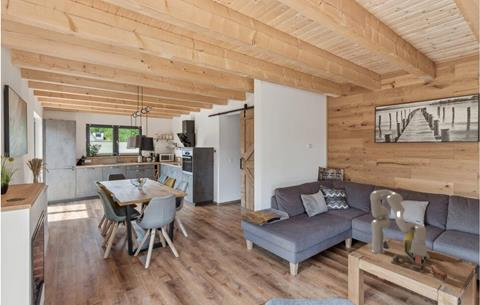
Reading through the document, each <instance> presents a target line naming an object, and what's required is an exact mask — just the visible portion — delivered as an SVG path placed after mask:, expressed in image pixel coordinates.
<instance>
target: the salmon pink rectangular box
mask: <svg viewBox="0 0 480 305" xmlns="http://www.w3.org/2000/svg"><path fill="white" fill-rule="evenodd" d="M421 259H422V256H420V255H416V254H415V262H414V264H413V268H415V269H418V270H421V269H422V267H423V265H424V263H423V264H421Z"/></svg>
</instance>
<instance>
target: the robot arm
mask: <svg viewBox="0 0 480 305" xmlns="http://www.w3.org/2000/svg"><path fill="white" fill-rule="evenodd" d="M369 199H370V204H371V205H370V206H371V214H372V217H374V218H375V219H372V221H371V224H370V225H371V232H372V234H371V244H369V243H368V244H367V247H368V248H369V250H370V252H372V253H373V254H376V255H377V254H384V253H386V251H385V249H384V238H385V236H384V235H385V234H384V231H383V229H386V228H388V227H390V224H391V221H390V213H389V210H388V208H387V207H385V206H382V202H381V201H380V200H385V199H386V202H387V204H389V206H390V208H391V209H392V212H394V220H395V223H396V225H397V226H398V229H399V230H400V232H402V233H404V234H407V233H409V232H414V238H412V239H413V241H412V246H411V249H410V250H409V252H410V253H411V254H412V255H413V257H414V262H415V254H416V255H420V256H422V259H421V264H423V265H424V264H425V263H424V259H425V260H426V259H429V258H431V257H430V255H429V253H428V249H427V247H428V246H427V243H426V230H427V228H426V227H425V226H423V225H420V224H417V223H415V222H413V221H411V222H410V221H409V222H406V221H405V219H404V213H405V211H406V209H405V207H404V206H403V205H402V202H403V199H404V198H403V197H402V195H401V194H399V193H397V192H395V191H392V190H389V189H378V190H374V191H372V192H371V193H370V196H369Z"/></svg>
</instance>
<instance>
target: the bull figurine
mask: <svg viewBox="0 0 480 305" xmlns="http://www.w3.org/2000/svg"><path fill="white" fill-rule="evenodd" d="M429 267H430V268H431V271H432V275H431V278H432V277H436V278H438V277H439V278H441V282H442V283H445V281H446V280H447V279H448V274H447V273H445V272H444V271H442V270H440V269H439V268H438V267H437V266H435V265H434V264H431V265H429ZM435 275H436V276H435Z"/></svg>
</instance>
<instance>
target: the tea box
mask: <svg viewBox="0 0 480 305" xmlns="http://www.w3.org/2000/svg"><path fill="white" fill-rule="evenodd" d="M411 246H412V241H411V240H405V247H404V256H406V257H407V258H408V259H409V261H411V262H414V257H413V255H412V254H411V253H410V252H409V250H410V249H411ZM425 262H426V259H424V263H423V264H425Z"/></svg>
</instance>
